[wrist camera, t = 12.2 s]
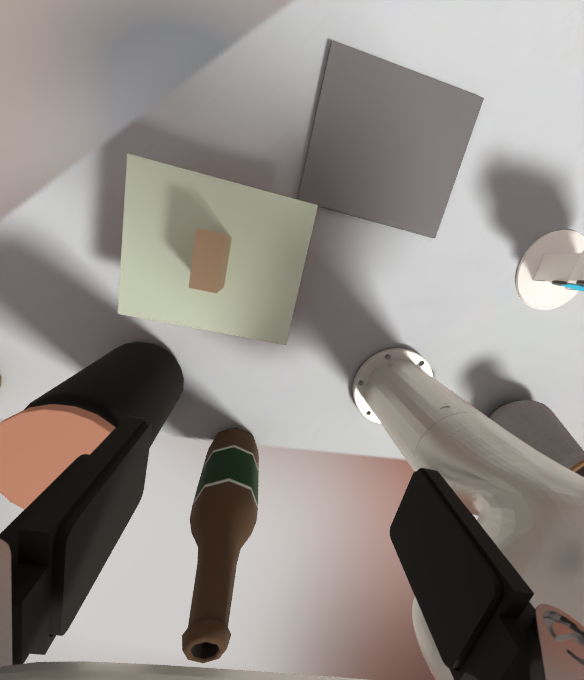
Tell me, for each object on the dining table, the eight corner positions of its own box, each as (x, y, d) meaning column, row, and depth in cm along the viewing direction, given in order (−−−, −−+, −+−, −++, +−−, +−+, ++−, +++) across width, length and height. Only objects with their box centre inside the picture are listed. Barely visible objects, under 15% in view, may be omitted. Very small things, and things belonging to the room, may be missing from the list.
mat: (480, 100, 34) (483, 98, 33) (432, 237, 38) (435, 237, 37) (330, 44, 31) (332, 40, 30) (297, 200, 35) (297, 199, 34)
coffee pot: (491, 387, 46) (594, 447, 32) (549, 398, 48) (671, 459, 34) (444, 491, 52) (513, 581, 37) (497, 497, 53) (583, 585, 39)
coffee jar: (99, 398, 40) (-24, 506, 23) (114, 329, 37) (-13, 392, 20) (176, 416, 42) (116, 529, 25) (194, 352, 39) (141, 428, 22)
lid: (316, 206, 29) (329, 195, 23) (285, 342, 33) (290, 360, 27) (131, 156, 26) (95, 129, 20) (121, 312, 30) (89, 325, 24)
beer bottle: (255, 469, 46) (248, 681, 23) (207, 466, 45) (149, 686, 22) (262, 428, 44) (261, 617, 21) (211, 424, 43) (152, 618, 20)
